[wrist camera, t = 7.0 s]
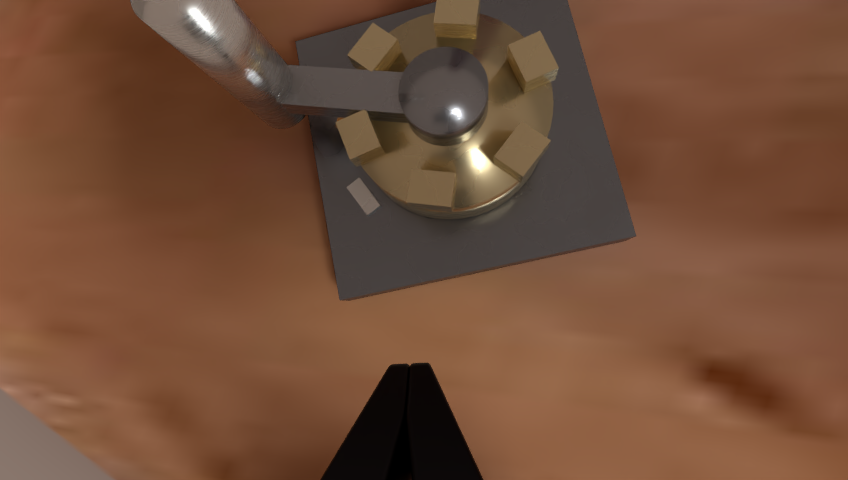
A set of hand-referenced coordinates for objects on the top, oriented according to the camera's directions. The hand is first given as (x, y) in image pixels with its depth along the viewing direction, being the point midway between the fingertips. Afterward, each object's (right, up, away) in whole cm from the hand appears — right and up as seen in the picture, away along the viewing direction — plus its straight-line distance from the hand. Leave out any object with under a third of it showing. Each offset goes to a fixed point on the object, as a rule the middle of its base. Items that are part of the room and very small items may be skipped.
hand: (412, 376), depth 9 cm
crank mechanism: (-1, +9, +13) cm, 15 cm away
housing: (+2, +8, +14) cm, 16 cm away
